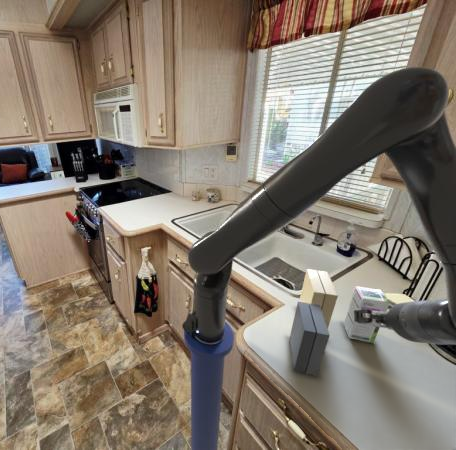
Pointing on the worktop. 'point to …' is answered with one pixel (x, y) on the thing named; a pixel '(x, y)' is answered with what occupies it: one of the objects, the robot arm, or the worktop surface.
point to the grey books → (308, 338)
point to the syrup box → (364, 301)
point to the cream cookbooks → (319, 292)
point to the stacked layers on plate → (397, 299)
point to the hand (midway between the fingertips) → (380, 322)
